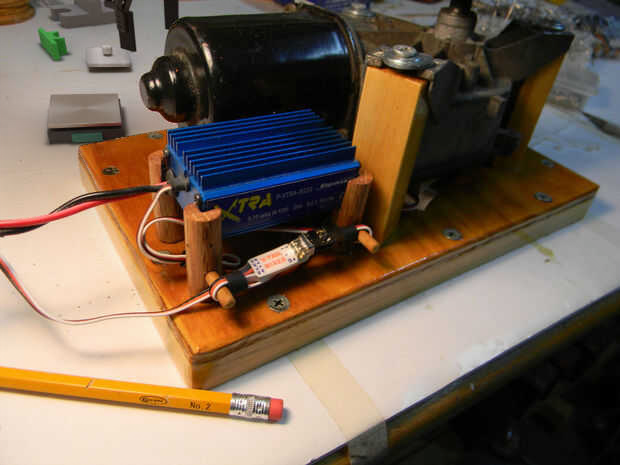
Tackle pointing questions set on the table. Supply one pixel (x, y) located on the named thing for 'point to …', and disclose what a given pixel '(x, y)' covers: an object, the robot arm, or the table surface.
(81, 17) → the bracket
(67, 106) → the scale pan
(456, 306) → the table surface
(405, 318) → the table surface
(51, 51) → the pipe clamp
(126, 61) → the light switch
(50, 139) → the kitchen scale
